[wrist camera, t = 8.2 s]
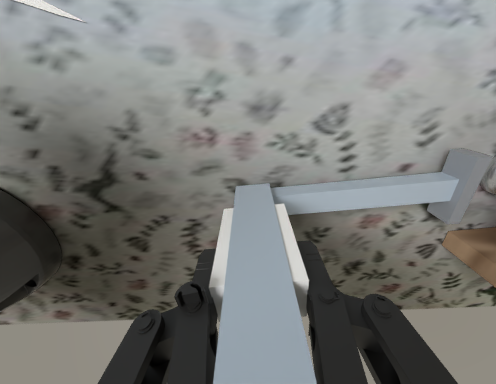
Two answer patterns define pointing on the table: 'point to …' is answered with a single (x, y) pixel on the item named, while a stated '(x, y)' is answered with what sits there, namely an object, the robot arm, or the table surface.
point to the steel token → (489, 177)
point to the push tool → (278, 272)
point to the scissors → (47, 8)
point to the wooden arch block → (475, 250)
